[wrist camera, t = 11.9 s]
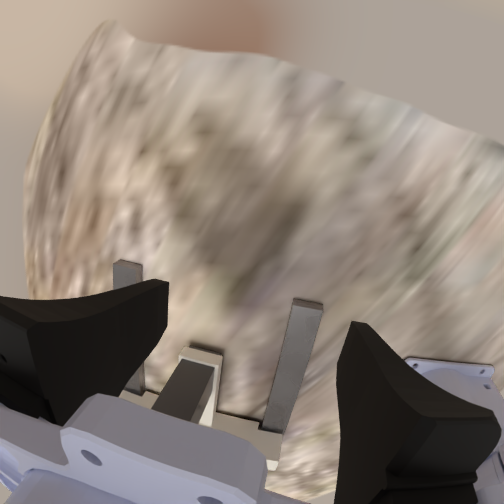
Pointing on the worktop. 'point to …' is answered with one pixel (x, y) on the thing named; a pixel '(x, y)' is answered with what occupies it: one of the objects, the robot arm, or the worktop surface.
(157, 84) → the worktop surface
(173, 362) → the worktop surface
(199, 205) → the worktop surface
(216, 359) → the pusher bar
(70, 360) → the robot arm
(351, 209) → the worktop surface
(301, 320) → the rails
